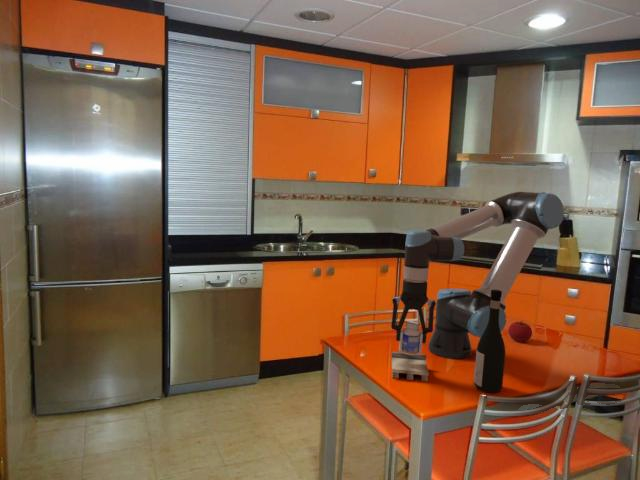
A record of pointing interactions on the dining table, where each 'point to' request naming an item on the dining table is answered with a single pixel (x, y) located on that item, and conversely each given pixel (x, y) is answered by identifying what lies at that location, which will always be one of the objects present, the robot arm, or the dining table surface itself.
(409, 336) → the pill bottle
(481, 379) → the wine bottle
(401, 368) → the dock
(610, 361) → the dining table surface
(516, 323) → the tomato
